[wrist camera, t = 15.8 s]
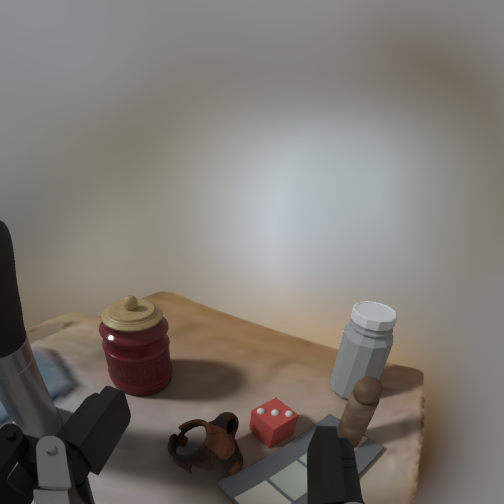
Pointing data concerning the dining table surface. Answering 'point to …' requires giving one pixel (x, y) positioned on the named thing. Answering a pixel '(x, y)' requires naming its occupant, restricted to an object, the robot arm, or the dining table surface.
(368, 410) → the walnut pawn
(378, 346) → the jar
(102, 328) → the canister
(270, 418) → the red die
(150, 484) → the dining table surface
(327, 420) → the game board
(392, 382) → the dining table surface
